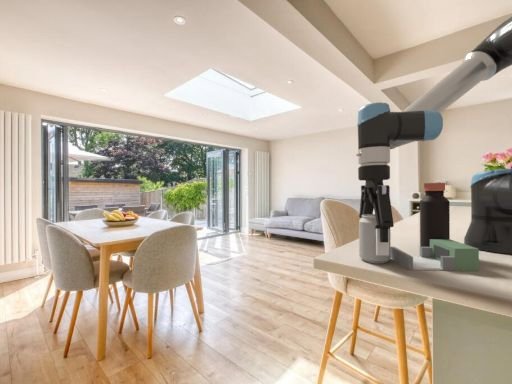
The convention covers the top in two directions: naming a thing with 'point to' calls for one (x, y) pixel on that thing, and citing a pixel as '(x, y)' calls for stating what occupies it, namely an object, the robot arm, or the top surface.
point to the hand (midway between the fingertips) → (374, 249)
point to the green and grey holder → (440, 256)
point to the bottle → (434, 214)
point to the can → (370, 240)
